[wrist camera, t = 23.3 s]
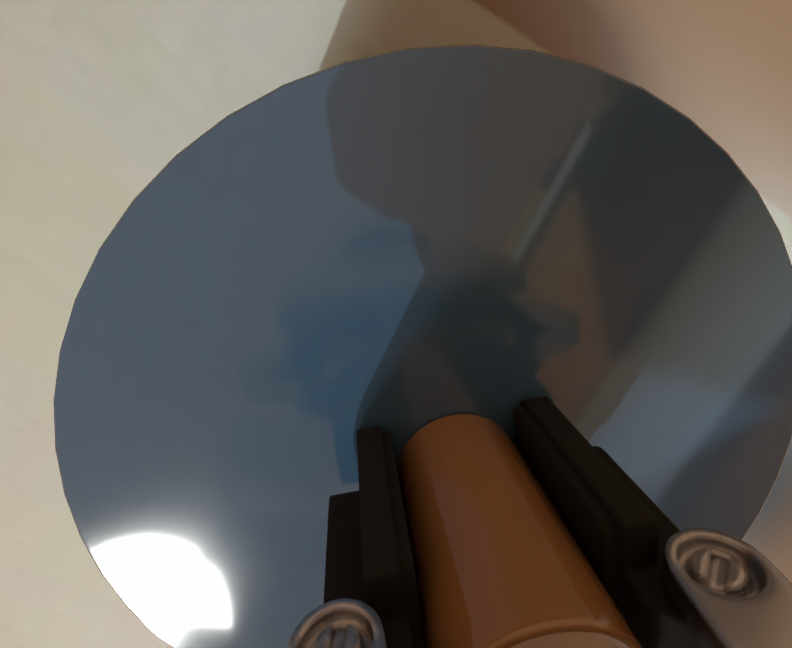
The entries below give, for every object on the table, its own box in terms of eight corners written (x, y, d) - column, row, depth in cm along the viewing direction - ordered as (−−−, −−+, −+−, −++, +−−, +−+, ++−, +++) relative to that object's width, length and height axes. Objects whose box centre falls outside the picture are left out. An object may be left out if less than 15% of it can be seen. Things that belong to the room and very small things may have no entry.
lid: (727, 613, 15) (979, 902, 9) (202, 724, 14) (95, 1131, 8) (808, 9, 9) (1617, -284, 3) (-54, 125, 8) (-1027, 1, 2)
